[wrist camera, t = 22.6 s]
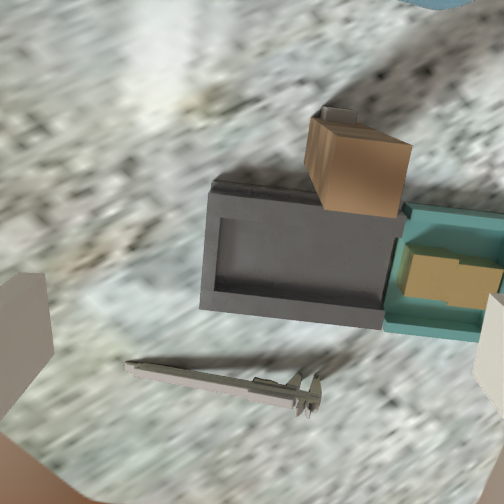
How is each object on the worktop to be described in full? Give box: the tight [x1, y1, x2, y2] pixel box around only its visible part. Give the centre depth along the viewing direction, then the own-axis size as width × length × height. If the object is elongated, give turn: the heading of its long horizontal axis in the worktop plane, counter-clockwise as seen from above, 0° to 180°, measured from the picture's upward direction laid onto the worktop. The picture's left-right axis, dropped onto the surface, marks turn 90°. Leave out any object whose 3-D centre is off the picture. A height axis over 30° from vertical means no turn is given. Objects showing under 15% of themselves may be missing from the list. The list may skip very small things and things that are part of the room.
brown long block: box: [304, 106, 413, 218], centre depth 33 cm, size 6×4×17 cm, turn 174°
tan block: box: [444, 254, 504, 310], centre depth 43 cm, size 4×4×3 cm
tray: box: [382, 203, 504, 343], centre depth 44 cm, size 12×10×2 cm
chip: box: [396, 244, 459, 301], centre depth 43 cm, size 4×4×3 cm
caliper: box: [125, 362, 322, 419], centre depth 47 cm, size 20×1×6 cm, turn 87°
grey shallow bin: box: [199, 180, 407, 330], centre depth 43 cm, size 12×17×3 cm
